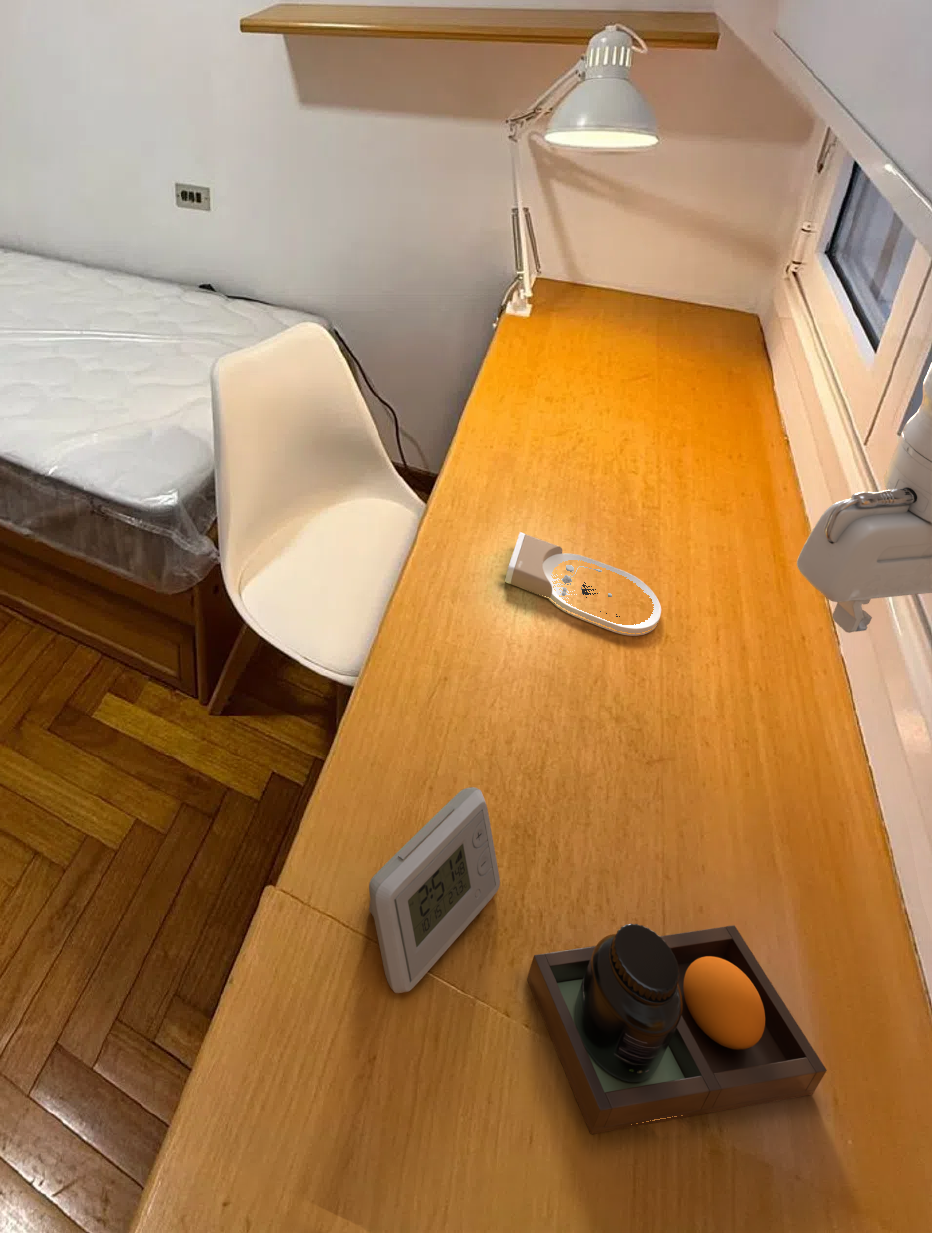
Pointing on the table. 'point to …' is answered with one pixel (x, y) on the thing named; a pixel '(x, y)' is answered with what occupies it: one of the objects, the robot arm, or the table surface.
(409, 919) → the digital clock
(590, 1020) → the supplement bottle
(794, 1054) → the tray
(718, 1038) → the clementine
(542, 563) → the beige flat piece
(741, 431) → the table surface
